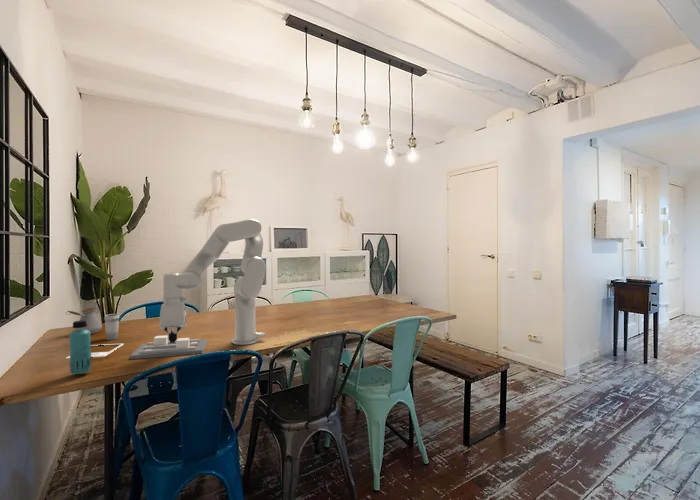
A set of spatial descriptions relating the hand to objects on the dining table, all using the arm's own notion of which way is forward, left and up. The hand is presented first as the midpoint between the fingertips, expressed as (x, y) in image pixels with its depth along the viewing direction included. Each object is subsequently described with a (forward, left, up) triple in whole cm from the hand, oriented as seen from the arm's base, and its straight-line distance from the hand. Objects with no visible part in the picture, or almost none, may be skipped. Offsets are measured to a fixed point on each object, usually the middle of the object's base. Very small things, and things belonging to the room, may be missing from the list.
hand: (172, 341), depth 155 cm
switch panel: (+1, -4, -5) cm, 6 cm away
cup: (+34, -32, -5) cm, 47 cm away
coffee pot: (+51, -43, -5) cm, 67 cm away
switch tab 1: (+6, -7, -3) cm, 10 cm away
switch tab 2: (-4, 0, -3) cm, 5 cm away
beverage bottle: (+27, +19, -5) cm, 34 cm away
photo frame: (+33, -11, -5) cm, 36 cm away
